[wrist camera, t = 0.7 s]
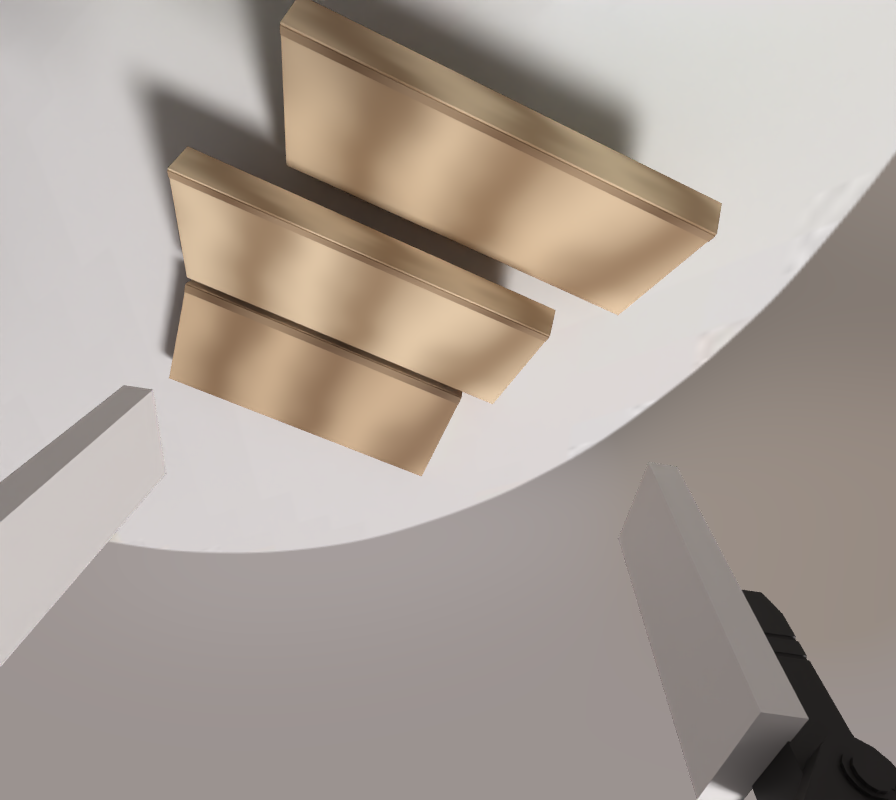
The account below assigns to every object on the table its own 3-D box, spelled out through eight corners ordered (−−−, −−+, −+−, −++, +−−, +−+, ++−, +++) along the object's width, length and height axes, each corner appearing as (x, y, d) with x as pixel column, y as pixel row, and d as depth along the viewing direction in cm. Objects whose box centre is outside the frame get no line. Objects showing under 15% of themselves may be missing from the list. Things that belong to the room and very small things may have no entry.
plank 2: (300, 141, 29) (285, 166, 28) (299, -6, 22) (279, 22, 21) (624, 290, 32) (617, 316, 31) (721, 203, 24) (716, 235, 23)
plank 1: (202, 256, 33) (186, 278, 32) (187, 146, 26) (166, 168, 25) (498, 381, 35) (492, 405, 34) (555, 310, 29) (549, 336, 28)
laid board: (183, 366, 37) (168, 378, 35) (200, 274, 34) (185, 283, 32) (424, 461, 39) (421, 477, 38) (463, 384, 36) (461, 397, 34)
